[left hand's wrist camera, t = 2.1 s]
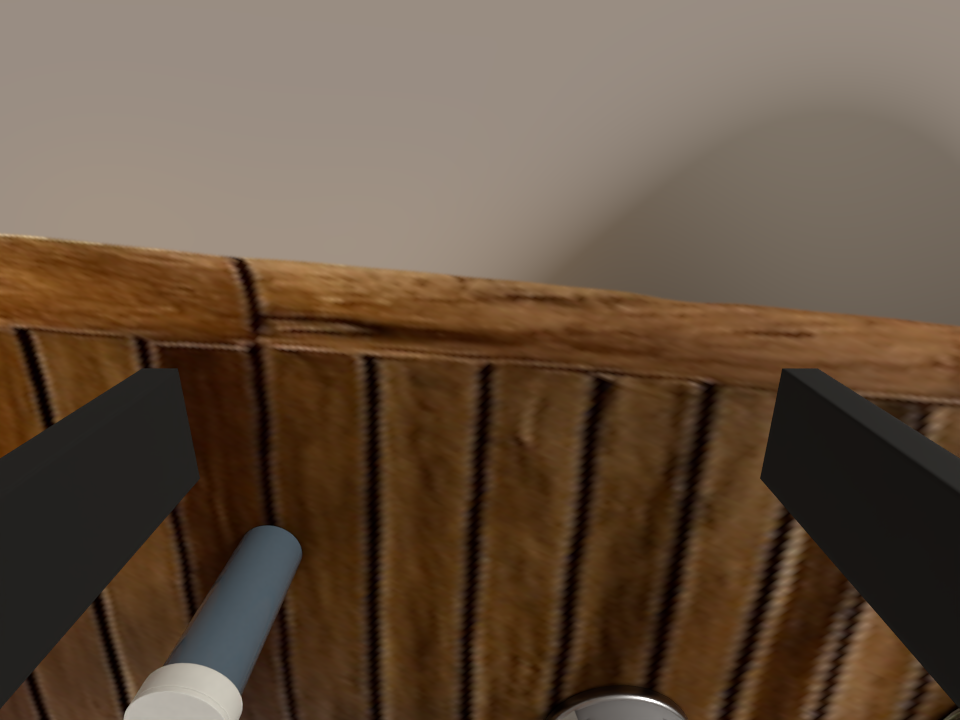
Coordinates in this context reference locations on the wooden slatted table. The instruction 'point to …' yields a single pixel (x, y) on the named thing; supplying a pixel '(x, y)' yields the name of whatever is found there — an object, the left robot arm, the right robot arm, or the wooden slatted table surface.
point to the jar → (241, 605)
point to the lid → (185, 695)
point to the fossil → (954, 715)
